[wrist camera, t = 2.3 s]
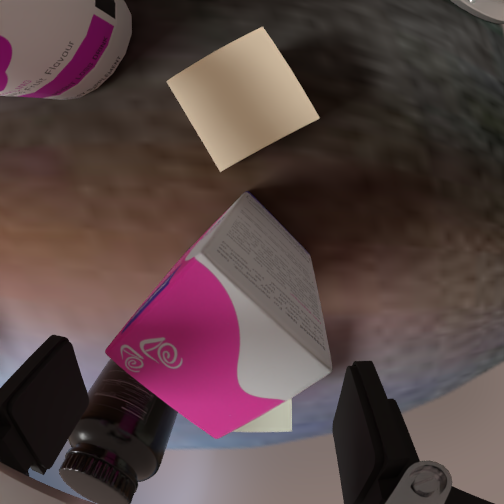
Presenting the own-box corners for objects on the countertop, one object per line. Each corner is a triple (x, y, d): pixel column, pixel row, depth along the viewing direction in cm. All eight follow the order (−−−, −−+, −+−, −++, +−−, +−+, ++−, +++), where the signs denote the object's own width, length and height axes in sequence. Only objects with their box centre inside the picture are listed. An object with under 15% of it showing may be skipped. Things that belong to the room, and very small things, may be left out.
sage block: (289, 332, 22) (291, 378, 18) (290, 384, 24) (291, 431, 19) (218, 334, 23) (205, 379, 18) (227, 385, 24) (218, 431, 20)
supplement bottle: (183, 413, 26) (148, 526, 15) (113, 392, 26) (58, 491, 15) (189, 356, 24) (140, 488, 12) (108, 334, 24) (30, 441, 12)
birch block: (266, 54, 17) (262, 26, 12) (308, 124, 18) (319, 118, 13) (193, 94, 18) (166, 81, 13) (234, 164, 19) (220, 171, 14)
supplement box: (245, 185, 19) (204, 246, 8) (312, 254, 20) (344, 375, 10) (181, 249, 21) (98, 356, 10) (246, 309, 22) (222, 447, 11)
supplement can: (129, 94, 18) (-80, 65, 4) (35, 106, 18) (-140, 118, 4) (145, -14, 15) (7, -129, 1) (50, 9, 15) (-98, -36, 1)
